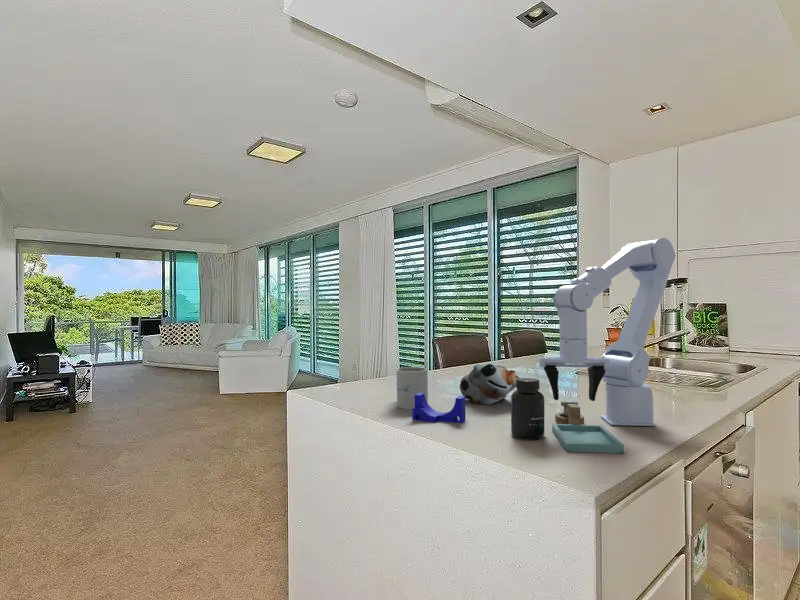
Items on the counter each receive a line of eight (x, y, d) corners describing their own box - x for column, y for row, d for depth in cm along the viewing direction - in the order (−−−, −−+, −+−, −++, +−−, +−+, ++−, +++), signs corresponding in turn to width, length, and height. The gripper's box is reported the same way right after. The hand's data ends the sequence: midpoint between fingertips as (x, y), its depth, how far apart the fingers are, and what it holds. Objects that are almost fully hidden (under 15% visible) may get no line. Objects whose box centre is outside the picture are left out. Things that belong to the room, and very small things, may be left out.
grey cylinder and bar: (576, 421, 106) (575, 401, 106) (578, 424, 103) (578, 403, 103) (560, 421, 106) (560, 400, 106) (562, 423, 104) (562, 403, 104)
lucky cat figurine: (504, 394, 136) (521, 357, 130) (509, 420, 125) (528, 380, 119) (456, 381, 136) (471, 343, 130) (457, 405, 124) (474, 364, 119)
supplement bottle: (540, 443, 90) (539, 383, 90) (507, 438, 94) (506, 380, 94) (548, 434, 96) (547, 378, 96) (517, 429, 100) (516, 375, 100)
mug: (432, 407, 122) (432, 370, 122) (402, 410, 119) (402, 372, 119) (417, 398, 133) (416, 364, 133) (389, 400, 131) (388, 366, 131)
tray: (602, 432, 97) (602, 425, 97) (624, 453, 83) (624, 445, 83) (552, 430, 98) (552, 423, 98) (565, 451, 85) (565, 443, 85)
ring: (553, 418, 108) (553, 398, 108) (579, 419, 107) (579, 398, 107) (561, 429, 99) (561, 407, 99) (590, 430, 98) (589, 407, 98)
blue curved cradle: (412, 420, 109) (412, 396, 109) (419, 416, 113) (419, 392, 113) (460, 425, 104) (459, 400, 104) (465, 420, 108) (465, 396, 108)
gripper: (602, 337, 103) (602, 396, 103) (536, 337, 105) (537, 395, 105) (612, 339, 96) (612, 403, 96) (541, 339, 98) (542, 401, 98)
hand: (573, 399), depth 100 cm, fingers open, 7 cm apart
